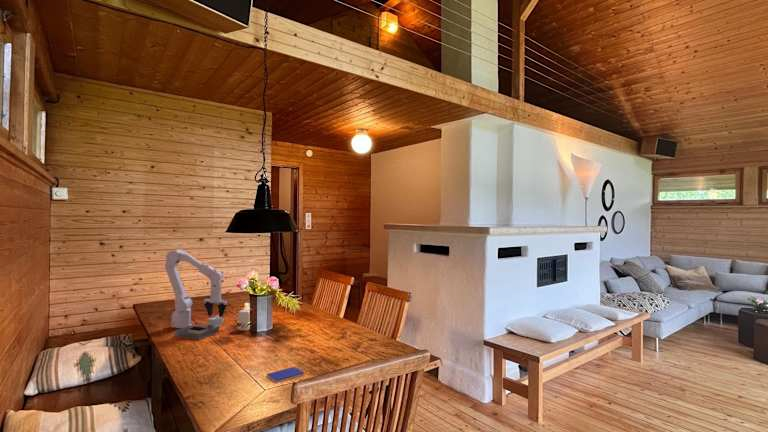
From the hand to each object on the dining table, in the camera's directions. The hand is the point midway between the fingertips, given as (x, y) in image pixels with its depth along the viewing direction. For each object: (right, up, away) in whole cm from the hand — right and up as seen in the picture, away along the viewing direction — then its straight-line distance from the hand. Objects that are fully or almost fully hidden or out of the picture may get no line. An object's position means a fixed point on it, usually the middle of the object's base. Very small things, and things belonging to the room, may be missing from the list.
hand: (215, 316), depth 226 cm
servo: (0, -6, 0) cm, 6 cm away
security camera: (+18, -7, -3) cm, 19 cm away
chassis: (-3, -6, -15) cm, 17 cm away
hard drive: (+57, -8, -66) cm, 88 cm away
